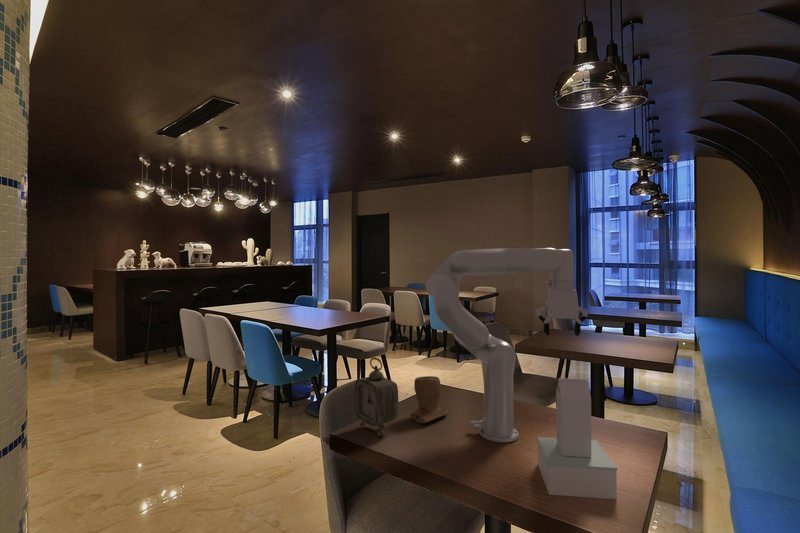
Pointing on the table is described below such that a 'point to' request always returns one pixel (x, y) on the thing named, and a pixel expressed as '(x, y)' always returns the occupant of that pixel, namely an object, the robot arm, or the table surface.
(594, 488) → the pastry box
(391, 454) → the table surface
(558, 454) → the box lid
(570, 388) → the milk carton
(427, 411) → the brown upright piece
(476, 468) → the table surface
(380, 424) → the tabletop clock
